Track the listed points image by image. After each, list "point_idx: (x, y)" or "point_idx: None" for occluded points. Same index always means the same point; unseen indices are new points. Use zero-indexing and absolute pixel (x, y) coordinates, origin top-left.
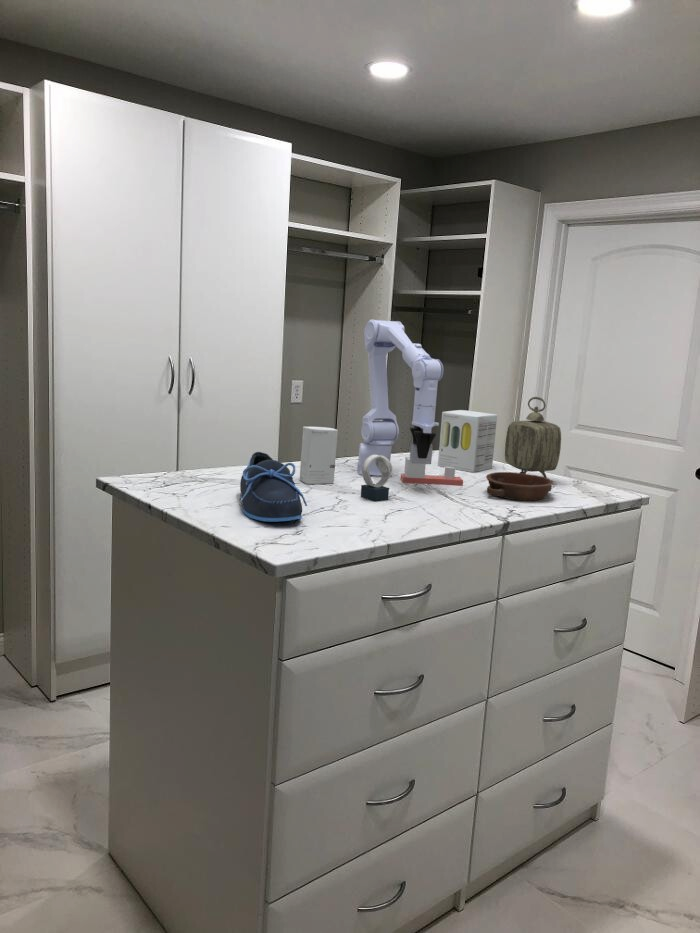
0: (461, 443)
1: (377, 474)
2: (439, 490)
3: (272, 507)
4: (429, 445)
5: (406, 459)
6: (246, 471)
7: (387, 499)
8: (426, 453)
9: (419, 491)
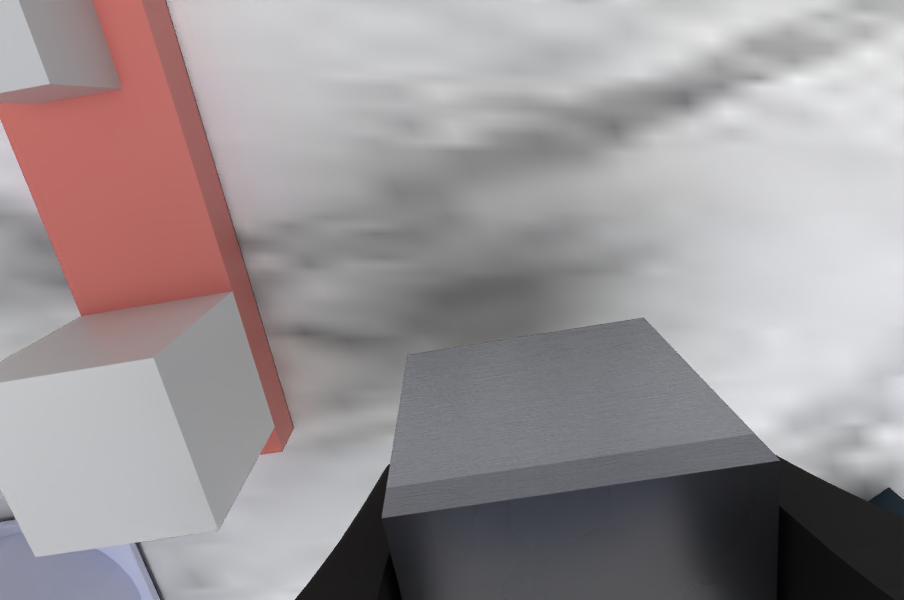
0: None
1: (151, 594)
2: (463, 150)
3: None
4: (901, 529)
5: (123, 534)
6: None
7: (896, 494)
8: None
9: (559, 307)
